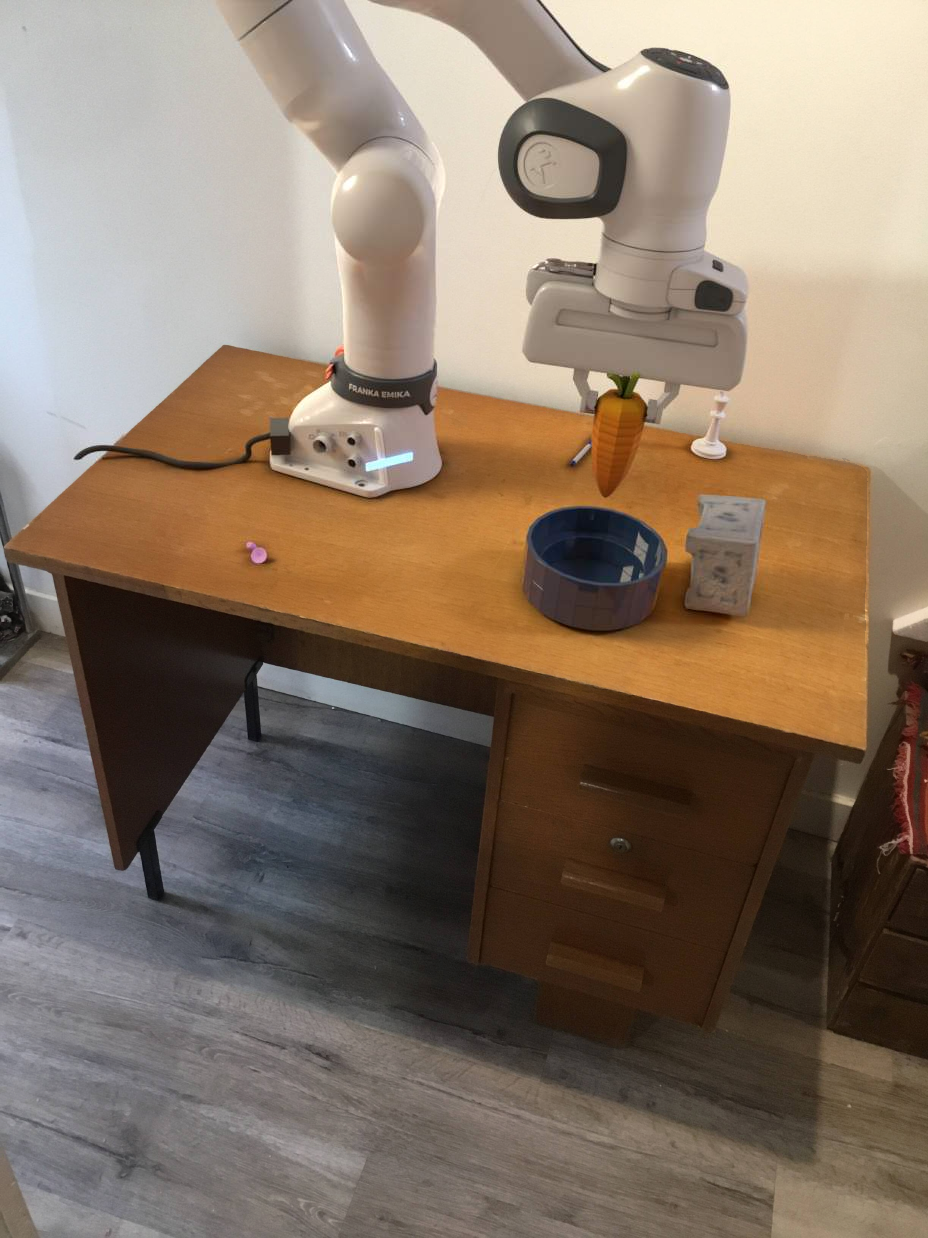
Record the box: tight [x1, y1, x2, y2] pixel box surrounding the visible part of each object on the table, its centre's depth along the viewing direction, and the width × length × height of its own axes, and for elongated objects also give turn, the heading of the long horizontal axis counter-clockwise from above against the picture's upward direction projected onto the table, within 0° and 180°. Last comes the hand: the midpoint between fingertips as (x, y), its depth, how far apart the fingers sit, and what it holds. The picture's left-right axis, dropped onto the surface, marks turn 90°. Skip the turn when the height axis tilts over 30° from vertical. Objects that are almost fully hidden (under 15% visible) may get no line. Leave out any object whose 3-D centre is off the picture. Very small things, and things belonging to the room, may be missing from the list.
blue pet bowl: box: [520, 505, 668, 632], centre depth 99 cm, size 15×15×6 cm
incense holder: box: [684, 493, 767, 617], centre depth 99 cm, size 10×8×10 cm
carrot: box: [590, 372, 648, 499], centre depth 89 cm, size 5×5×15 cm
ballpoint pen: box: [570, 439, 592, 467], centre depth 126 cm, size 10×1×1 cm, turn 154°
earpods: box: [246, 541, 268, 564], centre depth 103 cm, size 3×2×2 cm
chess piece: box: [690, 390, 730, 460], centre depth 126 cm, size 5×5×10 cm
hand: (620, 415), depth 88 cm, fingers closed on carrot, 5 cm apart
